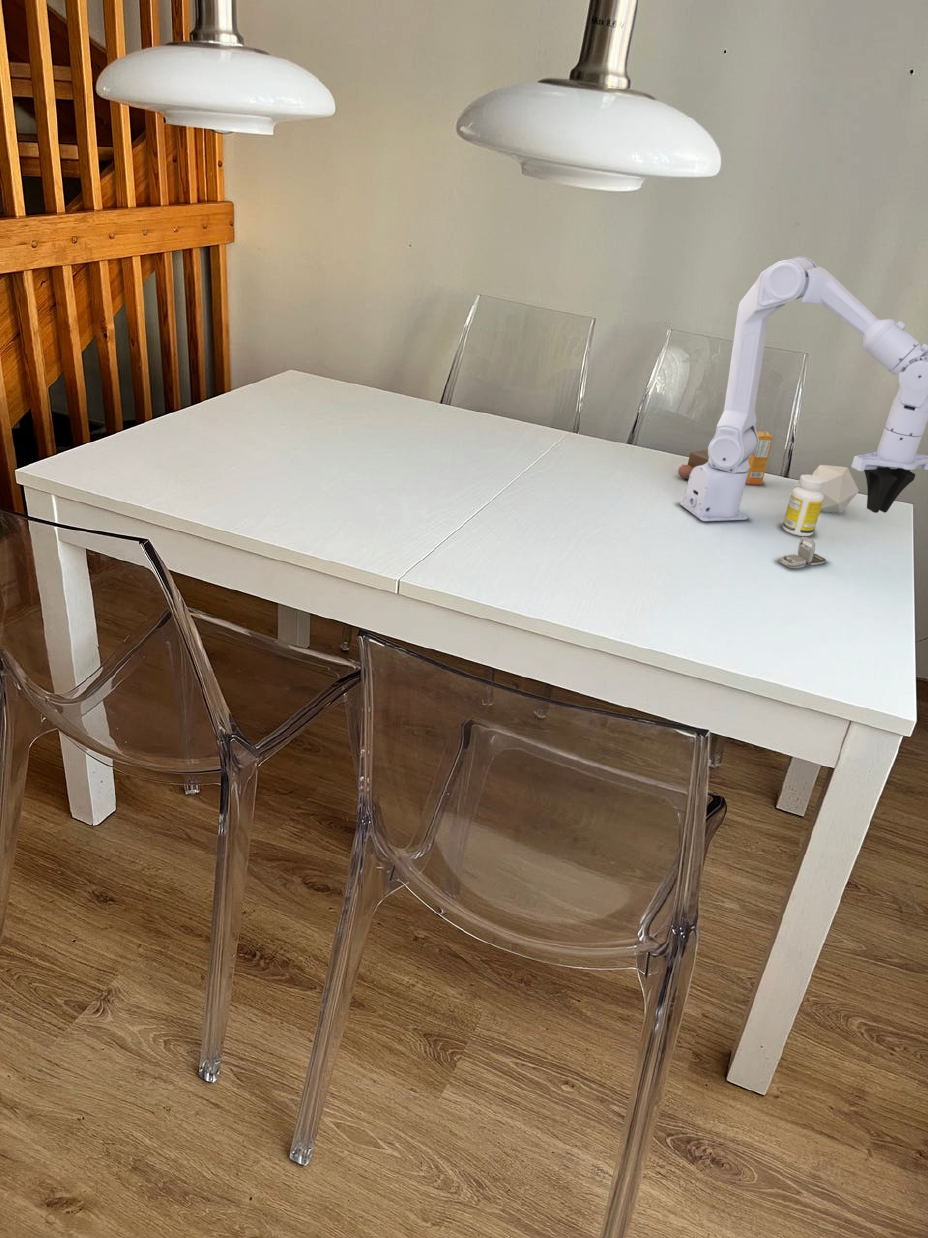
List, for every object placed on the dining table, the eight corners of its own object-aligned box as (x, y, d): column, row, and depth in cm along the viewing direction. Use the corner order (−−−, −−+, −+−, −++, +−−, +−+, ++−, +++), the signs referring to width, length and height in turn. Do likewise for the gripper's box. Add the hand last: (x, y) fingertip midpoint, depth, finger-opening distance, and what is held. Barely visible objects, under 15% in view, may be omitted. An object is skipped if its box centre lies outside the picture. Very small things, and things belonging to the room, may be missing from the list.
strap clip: (790, 569, 155) (797, 545, 153) (776, 561, 158) (783, 538, 156) (826, 563, 159) (834, 539, 157) (812, 555, 162) (820, 532, 160)
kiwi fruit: (706, 480, 189) (709, 467, 188) (686, 482, 186) (689, 469, 185) (687, 470, 193) (689, 457, 192) (667, 472, 190) (670, 460, 189)
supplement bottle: (814, 529, 172) (830, 477, 168) (810, 539, 168) (827, 486, 163) (783, 522, 174) (798, 470, 169) (779, 531, 170) (794, 478, 165)
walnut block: (704, 485, 187) (710, 460, 184) (684, 476, 190) (690, 452, 188) (720, 481, 190) (726, 457, 187) (700, 473, 193) (706, 449, 191)
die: (841, 525, 178) (876, 481, 177) (805, 496, 176) (839, 451, 176) (821, 523, 186) (854, 481, 185) (786, 495, 185) (819, 453, 184)
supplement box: (739, 478, 193) (752, 429, 188) (756, 479, 193) (769, 431, 189) (745, 484, 190) (758, 435, 185) (762, 485, 190) (775, 436, 186)
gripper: (884, 439, 148) (857, 521, 154) (957, 438, 153) (928, 518, 159) (854, 424, 153) (829, 504, 160) (925, 424, 158) (898, 501, 165)
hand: (876, 510), depth 160 cm, fingers closed
